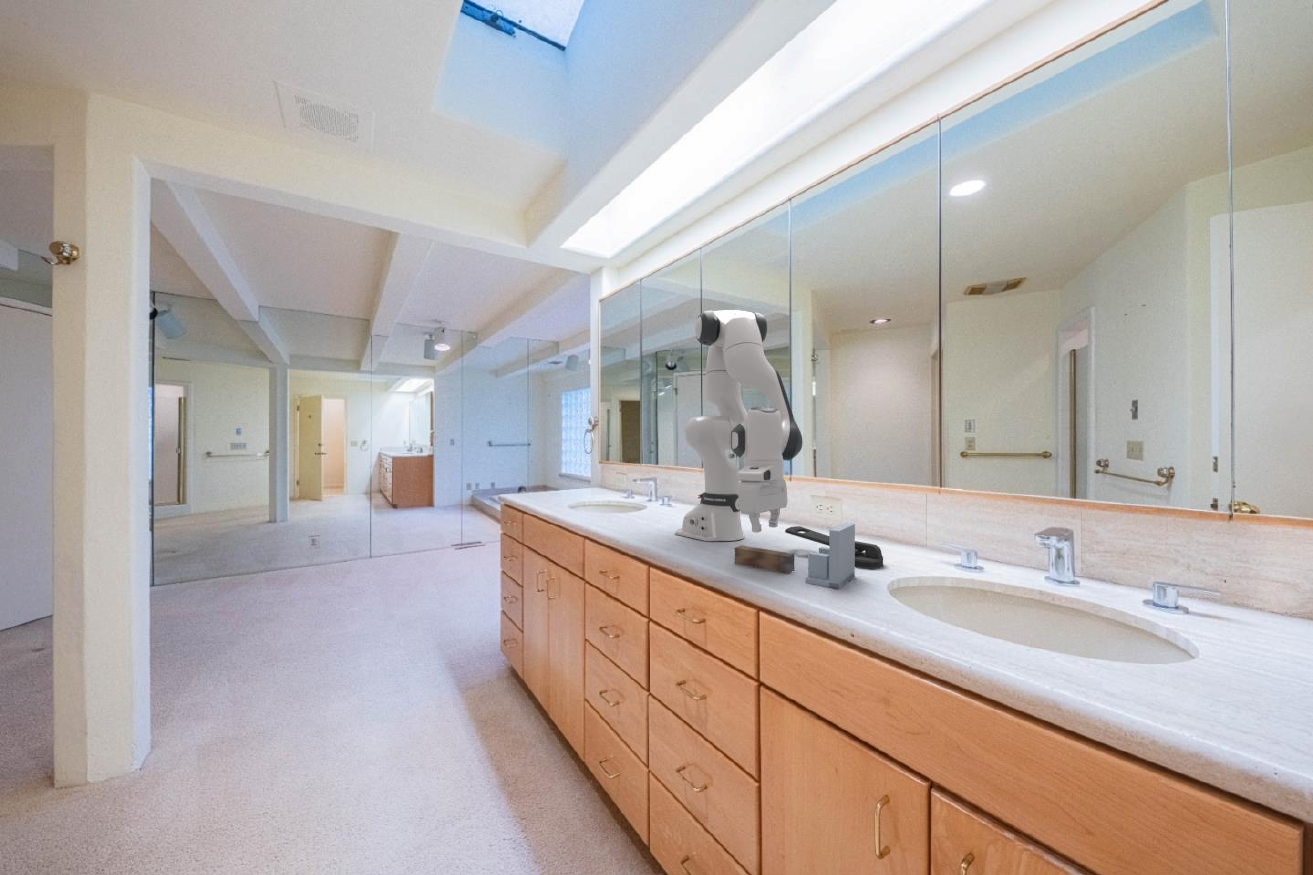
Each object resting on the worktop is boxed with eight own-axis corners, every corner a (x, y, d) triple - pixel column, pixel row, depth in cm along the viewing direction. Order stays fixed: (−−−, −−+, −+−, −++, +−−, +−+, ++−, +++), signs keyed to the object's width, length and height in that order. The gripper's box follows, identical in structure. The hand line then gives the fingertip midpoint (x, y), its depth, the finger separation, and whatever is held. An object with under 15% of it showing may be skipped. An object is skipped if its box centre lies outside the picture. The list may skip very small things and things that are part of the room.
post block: (805, 582, 99) (805, 527, 99) (823, 570, 109) (823, 520, 109) (838, 589, 95) (839, 531, 95) (854, 576, 104) (854, 523, 105)
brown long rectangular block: (734, 563, 115) (734, 547, 115) (741, 560, 117) (741, 545, 117) (788, 573, 106) (788, 556, 106) (794, 570, 109) (794, 553, 109)
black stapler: (798, 525, 134) (888, 538, 115) (798, 547, 134) (888, 565, 115) (781, 528, 127) (874, 543, 109) (781, 552, 127) (873, 571, 109)
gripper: (770, 471, 122) (770, 523, 121) (733, 473, 106) (733, 533, 105) (793, 471, 118) (793, 525, 117) (758, 474, 102) (759, 536, 101)
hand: (765, 529), depth 111 cm, fingers open, 8 cm apart
